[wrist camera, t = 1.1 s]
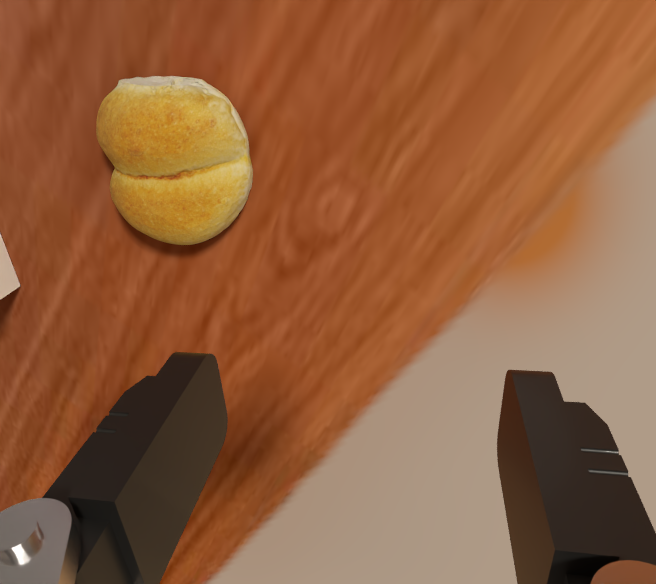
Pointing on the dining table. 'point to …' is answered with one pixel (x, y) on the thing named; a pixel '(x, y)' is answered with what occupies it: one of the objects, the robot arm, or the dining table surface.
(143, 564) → the robot arm
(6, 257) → the bench stop
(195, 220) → the bread roll
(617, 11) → the dining table surface
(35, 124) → the dining table surface
